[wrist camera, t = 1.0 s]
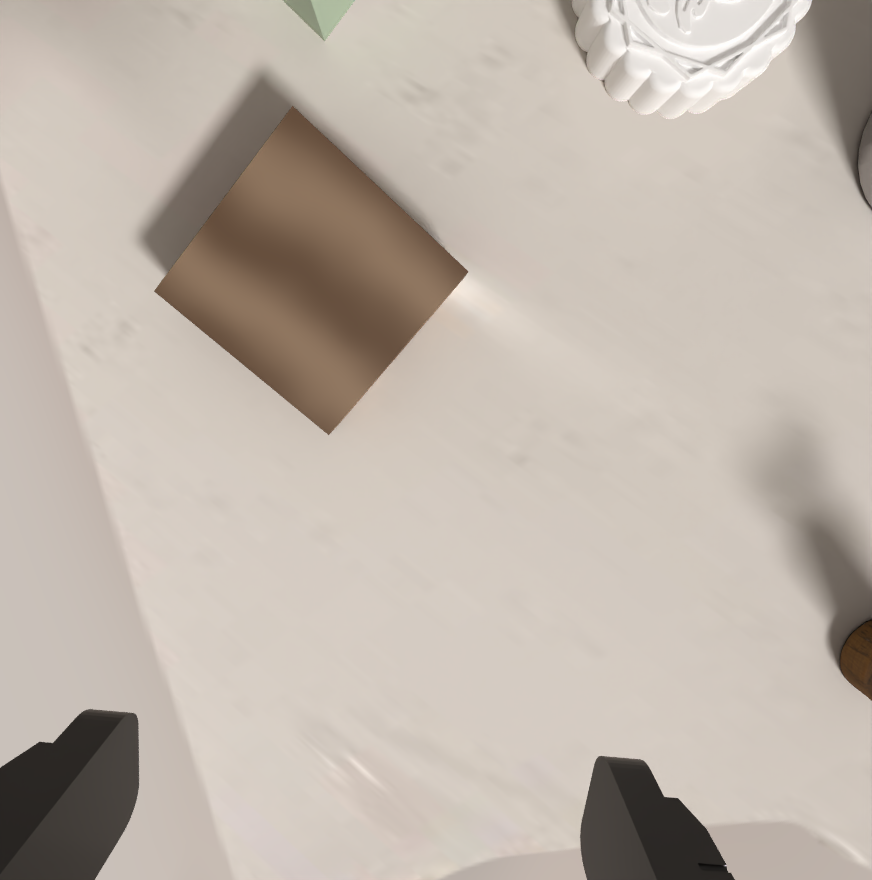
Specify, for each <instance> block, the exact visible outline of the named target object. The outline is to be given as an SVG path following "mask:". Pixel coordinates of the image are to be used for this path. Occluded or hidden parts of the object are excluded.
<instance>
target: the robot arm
mask: <svg viewBox="0 0 872 880" xmlns="http://www.w3.org/2000/svg"><path fill="white" fill-rule="evenodd" d="M858 170H859V177H860V184H861V186H862V189H863V192H864V195H865V197H866V199H867V201H868V202H869V204H870V205H871V207H872V113H871V115H870V117H869V120H868V122H867V124H866V126H865V129H864V131H863V135H862V139H861V143H860V147H859V159H858ZM138 741H139V740H138V718H137V716H136V714H134V713H127V712H115V711H103V710H93V709H89V710H85V711H83V712H82V713H81V714H79V716H77V717H76V718H75V720H74V721H73V722H72V723H71V724H70V725H69V726H68V727H67V728H66V729H65V731H64V732H63V733H62V734H61V735H60V736H59V737H58V738H57V739H56V741H54V743H45V742H39V743H37V744H36V745H34V746H33V747H31V748H30V749H28V750H27V751H25V752H23V753H22V754H20V755H19V756H17V757H16V758H14V759H13V760H11V761H10V762H8V763H7V764H5V765H4V766H2V767H1V768H0V880H95V878H96V877H97V875H98V873H99V871H100V870H101V868H102V866H103V865H104V863H105V862H106V860H107V858H108V857H109V855H110V853H111V852H112V850H113V849H114V847H115V845H116V844H117V842H118V840H119V838H120V837H121V835H122V834H123V832H124V830H125V828H126V826H127V824H128V822H129V820H130V818H131V815H132V812H133V810H134V806H135V803H136V799H137V795H138V788H139V750H138V749H139V747H138V746H139V744H138V743H139V742H138ZM580 840H581V853H582V860H583V865H584V870H585V873H586V877H587V880H735V879H734V878H733V876H732V874H731V873H728V871H727V865H726V863H725V861H724V860H723V858H722V856H721V854H720V852H719V851H718V849H717V847H716V845H715V843H714V842H713V840H712V838H711V837H710V835H709V833H708V831H707V829H706V828H705V827H704V826H703V825H702V824H701V823H700V822H699V821H698V819H697V818H696V817H695V816H694V815H693V814H692V813H691V812H690V811H689V810H688V809H687V808H686V806H685V805H684V804H683V803H682V802H681V801H680V800H679V799H678V798H668V797H664V796H663V794H662V792H661V790H660V788H659V786H658V784H657V782H656V780H655V778H654V776H653V774H652V772H651V770H650V768H649V767H648V765H647V764H646V763H645V762H644V761H643V760H640V759H629V758H617V757H606V756H599V757H598V758H597V759H596V762H595V765H594V769H593V773H592V778H591V782H590V787H589V791H588V796H587V800H586V805H585V809H584V814H583V818H582V823H581V834H580Z"/></svg>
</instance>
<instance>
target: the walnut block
mask: <svg viewBox="0 0 872 880" xmlns="http://www.w3.org/2000/svg"><path fill="white" fill-rule="evenodd" d="M467 273H468V271H467V270H466V269H465V268H464V267H463V266H462V265H461V264H460V263H459V262H458V261H457V260H456V259H455V258H453V257H452V256H451V255H450V254H449V253H448V252H447V251H446V250H445V249H444V248H443V247H442V246H441V245H440V244H439V243H438V242H436V241H435V240H434V239H433V238H432V237H431V236H430V235H429V234H428V233H427V232H426V231H425V230H424V229H423V228H422V227H421V226H419V225H418V224H417V223H416V222H415V221H414V220H413V219H412V218H411V217H410V216H409V215H408V214H407V213H406V212H405V211H404V210H402V209H401V208H400V207H399V206H398V205H397V204H396V203H395V202H394V201H393V200H392V199H391V198H390V197H389V196H388V195H387V194H385V193H384V192H383V191H382V190H381V189H380V188H379V187H378V186H377V185H376V184H375V183H374V182H373V181H372V180H371V179H370V178H369V177H367V176H366V175H365V174H364V173H363V172H362V171H361V170H360V169H359V168H358V167H357V166H356V165H355V164H354V163H353V162H352V161H350V160H349V159H348V158H347V157H346V156H345V155H344V154H343V153H342V152H341V151H340V150H339V149H338V148H337V147H336V146H335V145H333V144H332V143H331V142H330V141H329V140H328V139H327V138H326V137H325V136H324V135H323V134H322V133H321V132H320V131H319V130H318V129H316V128H315V127H314V126H313V125H312V124H311V123H310V122H309V121H308V120H307V119H306V118H305V117H304V116H303V115H302V114H301V113H299V112H298V111H297V110H296V109H295V108H294V107H293V106H292V108H291V109H290V110H289V112H288V113H287V114H286V116H285V117H284V118H283V120H282V121H281V122H280V124H279V125H278V126H277V128H276V129H275V130H274V132H273V133H272V134H271V136H270V137H269V138H268V140H267V141H266V142H265V144H264V145H263V146H262V148H261V149H260V150H259V152H258V153H257V154H256V156H255V157H254V158H253V160H252V161H251V162H250V164H249V165H248V166H247V168H246V169H245V170H244V172H243V173H242V174H241V176H240V177H239V178H238V180H237V181H236V182H235V184H234V185H233V186H232V188H231V189H230V190H229V192H228V193H227V194H226V196H225V197H224V198H223V200H222V201H221V202H220V204H219V205H218V206H217V208H216V209H215V210H214V212H213V213H212V215H211V216H210V217H209V219H208V220H207V221H206V223H205V224H204V225H203V227H202V228H201V229H200V231H199V232H198V233H197V235H196V236H195V237H194V239H193V240H192V241H191V243H190V244H189V245H188V247H187V248H186V249H185V251H184V252H183V253H182V255H181V256H180V257H179V259H178V260H177V261H176V263H175V264H174V265H173V267H172V268H171V269H170V271H169V272H168V273H167V275H166V276H165V277H164V279H163V280H162V281H161V283H160V284H159V285H158V287H157V288H156V289H155V291H154V292H156V293H157V294H158V295H159V296H161V297H162V298H163V299H164V300H165V301H167V302H168V303H169V304H170V305H171V306H173V307H174V308H175V309H176V310H178V311H179V312H180V313H181V314H182V315H184V316H185V317H186V318H187V319H188V320H190V321H191V322H192V323H193V324H195V325H196V326H197V327H198V328H199V329H201V330H202V331H203V332H204V333H205V334H207V335H208V336H209V337H210V338H212V339H213V340H214V341H215V342H216V343H218V344H219V345H220V346H221V347H222V348H224V349H225V350H226V351H227V352H229V353H230V354H231V355H232V356H233V357H235V358H236V359H237V360H238V361H239V362H241V363H242V364H243V365H244V366H246V367H247V368H248V369H249V370H250V371H252V372H253V373H254V374H255V375H256V376H258V377H259V378H260V379H261V380H263V381H264V382H265V383H266V384H267V385H269V386H270V387H271V388H272V389H273V390H275V391H276V392H277V393H278V394H280V395H281V396H282V397H283V398H284V399H286V400H287V401H288V402H289V403H290V404H292V405H293V406H294V407H295V408H297V409H298V410H299V411H300V412H301V413H303V414H304V415H305V416H306V417H307V418H309V419H310V420H311V421H312V422H314V423H315V424H316V425H317V426H318V427H320V428H321V429H322V430H323V431H324V432H326V433H327V434H328V435H329V434H330V433H331V432H332V431H333V430H334V429H335V428H336V427H337V426H338V424H339V423H340V422H341V421H342V420H343V419H344V418H345V416H346V415H347V414H348V413H349V412H350V411H351V409H352V408H353V407H354V406H355V405H356V403H357V402H358V401H359V400H360V399H361V398H362V396H363V395H364V394H365V393H366V392H367V391H368V389H369V388H370V387H371V386H372V385H373V384H374V382H375V381H376V380H377V379H378V378H379V377H380V375H381V374H382V373H383V372H384V371H385V370H386V368H387V367H388V366H389V365H390V364H391V363H392V361H393V360H394V359H395V358H396V357H397V356H398V354H399V353H400V352H401V351H402V350H403V349H404V347H405V346H406V345H407V344H408V343H409V342H410V340H411V339H412V338H413V337H414V336H415V335H416V333H417V332H418V331H419V330H420V329H421V328H422V326H423V325H424V324H425V323H426V322H427V321H428V319H429V318H430V317H431V316H432V315H433V314H434V312H435V311H436V310H437V309H438V308H439V307H440V305H441V304H442V303H443V302H444V301H445V299H446V298H447V297H448V296H449V295H450V294H451V292H452V291H453V290H454V289H455V288H456V287H457V285H458V284H459V283H460V282H461V281H462V280H463V278H464V277H465V276H466V274H467Z"/></svg>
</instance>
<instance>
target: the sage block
mask: <svg viewBox="0 0 872 880" xmlns="http://www.w3.org/2000/svg"><path fill="white" fill-rule="evenodd" d="M283 1H284V2H285V3H286V4H287V5H288V6H289V7H290V8H291V9H292V10H293V11H294V12H295V13H296V14H297V15H298V16H299V17H300V18H301V19H302V20H303V21H304V22H305V23H306V24H307V25H308V26H310V27H311V28H312V29H313V30H314V31H315V32H316V33H317V34H318V35H319V36H320V37H321V38H322V39H323V40H324V41H325V40H326V39H327V37H328V36H329V35H330V33H331V32H332V31H333V29H334V28H335V27H336V25H337V24H338V23H339V21H340V20H341V19H342V17H343V16H344V15H345V13H346V12H347V10H348V9H349V8H350V6H351V5H352V4H353V2H354V1H355V0H283Z"/></svg>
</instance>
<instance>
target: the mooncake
mask: <svg viewBox="0 0 872 880" xmlns="http://www.w3.org/2000/svg"><path fill="white" fill-rule="evenodd" d="M811 3H812V0H572V8H573V11H574V13H575V15H576V16H577V17H578V18H579V19H578V21H577V24H576V27H575V38H576V41H577V43H578V45H579V47H580V48H581V49H582V50H584V51H586V52H588V54H587V61H586V62H587V68H588V70H589V72H590V74H591V75H592V76H593V77H595V78H596V79H599V80H605V88H606V91H607V93H608V95H609V96H610V97H611V98H612V99H614V100H616V101H627V100H628V101H629V104H630V106H631V108H632V109H633V110H634V111H635V112H636V113H639V114H642V115H646V114H650V113H653V112H654V111H657V112H658V114H659V115H661V116H662V117H664V118H667V119H673V118H677V117H679V116H681V115H682V114H683V113H684V112H686V111H688V112H690V113H693V114H700V113H703V112H705V111H707V110H708V109H710V108H711V107H712V106H713V105H715V104H716V103H717V102H719V101H720V100H724V99H728V98H730V97H732V96H733V95H734V94H736V93H737V92H738V91H740V90H741V89H742V88H744V87H745V86H746V85H747V84H749V83H750V82H751V81H753V80H754V79H755V78H757V77H758V76H759V75H760V74H762V73H763V72H764V71H765V70H766V68H767V67H768V65H769V63H770V61H771V60H772V59H773V58H775V57H776V56H777V55H778V54H780V53H781V52H782V51H783V50H785V49H786V48H787V47H788V46H789V44H790V43H791V41H792V39H793V37H794V34H795V29H796V23H797V22H798V21H799V20H801V19H802V18H803V17H804V16H805V15H806V13H807V12H808V10H809V8H810V6H811Z"/></svg>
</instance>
